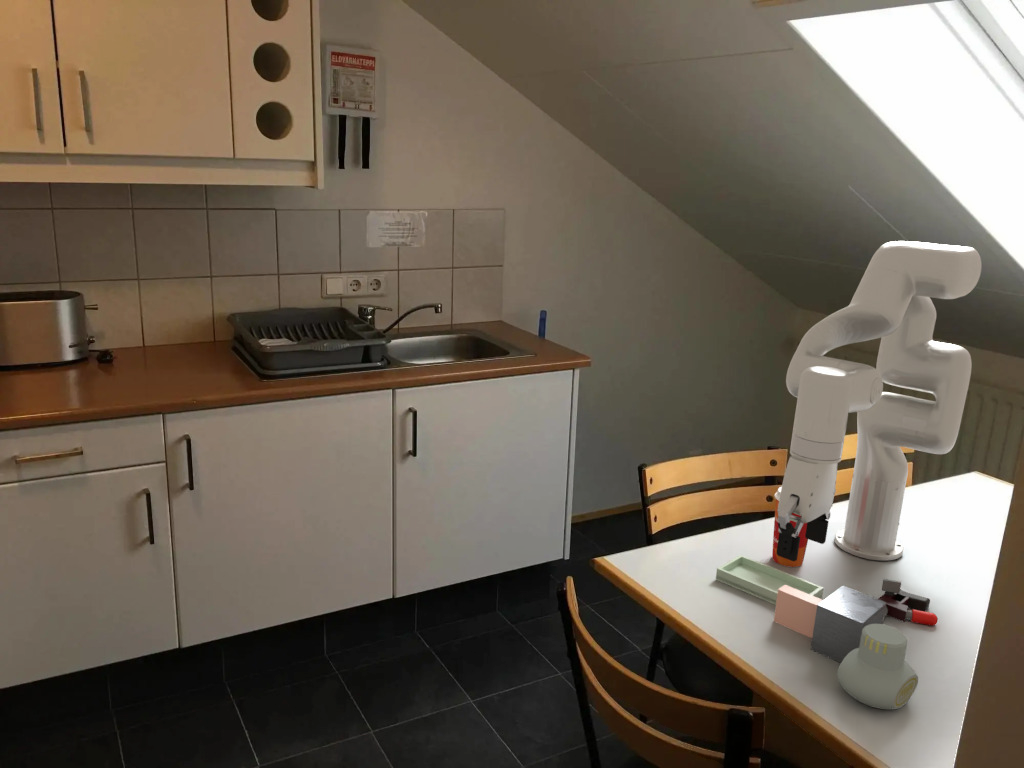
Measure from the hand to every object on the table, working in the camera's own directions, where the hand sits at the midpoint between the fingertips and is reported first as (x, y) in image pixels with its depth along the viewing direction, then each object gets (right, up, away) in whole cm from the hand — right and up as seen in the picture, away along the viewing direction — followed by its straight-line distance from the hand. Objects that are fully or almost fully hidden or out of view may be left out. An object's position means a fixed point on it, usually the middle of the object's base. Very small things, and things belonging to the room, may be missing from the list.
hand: (801, 549), depth 134 cm
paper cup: (+6, -8, +26) cm, 28 cm away
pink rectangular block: (+2, -14, +2) cm, 14 cm away
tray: (-1, -10, +15) cm, 18 cm away
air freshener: (+6, -19, -13) cm, 24 cm away
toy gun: (+20, -13, +8) cm, 26 cm away
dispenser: (+6, -15, -2) cm, 16 cm away
